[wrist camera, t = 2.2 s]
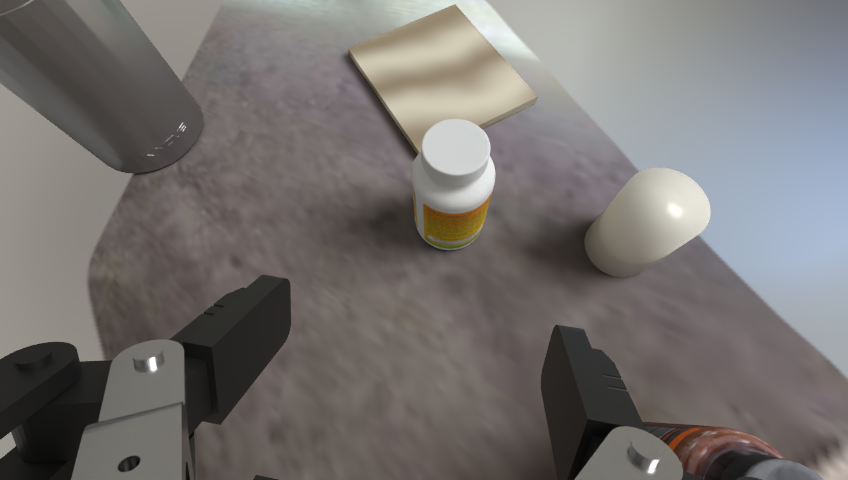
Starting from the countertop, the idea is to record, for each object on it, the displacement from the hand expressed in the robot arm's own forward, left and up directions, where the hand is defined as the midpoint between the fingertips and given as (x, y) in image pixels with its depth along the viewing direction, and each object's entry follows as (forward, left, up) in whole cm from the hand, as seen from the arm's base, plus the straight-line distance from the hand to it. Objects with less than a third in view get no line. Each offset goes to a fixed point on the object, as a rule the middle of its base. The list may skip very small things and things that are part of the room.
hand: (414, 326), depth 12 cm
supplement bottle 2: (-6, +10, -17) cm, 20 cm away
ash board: (-16, +21, -16) cm, 31 cm away
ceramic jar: (+5, +17, -16) cm, 24 cm away
